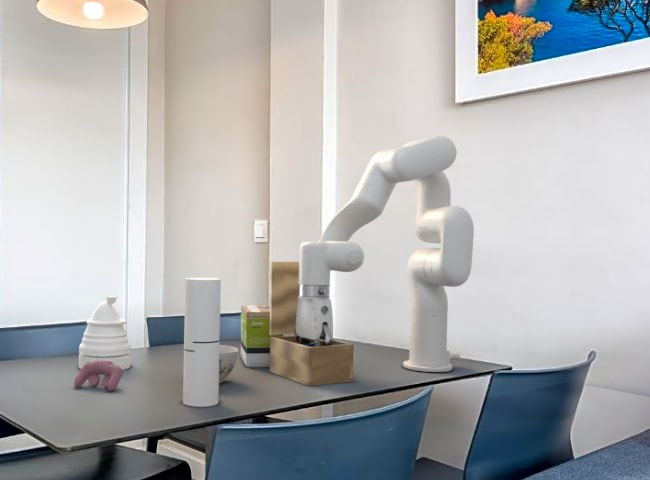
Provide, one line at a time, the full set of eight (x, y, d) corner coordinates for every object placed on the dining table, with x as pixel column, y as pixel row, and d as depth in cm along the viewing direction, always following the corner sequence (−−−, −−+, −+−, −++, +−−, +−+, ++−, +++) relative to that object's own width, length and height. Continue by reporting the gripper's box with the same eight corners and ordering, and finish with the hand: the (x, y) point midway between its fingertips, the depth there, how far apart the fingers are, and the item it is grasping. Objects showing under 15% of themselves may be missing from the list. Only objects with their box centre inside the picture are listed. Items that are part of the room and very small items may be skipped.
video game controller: (120, 395, 147) (127, 364, 150) (110, 390, 143) (118, 358, 146) (81, 391, 150) (89, 361, 153) (70, 386, 146) (79, 355, 149)
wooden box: (353, 381, 160) (353, 344, 159) (308, 386, 154) (309, 347, 153) (311, 368, 175) (312, 334, 175) (269, 371, 169) (270, 336, 169)
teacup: (247, 384, 153) (248, 349, 153) (197, 390, 147) (198, 353, 147) (217, 372, 167) (218, 340, 167) (170, 377, 161) (171, 343, 160)
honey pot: (140, 365, 174) (141, 296, 174) (105, 373, 163) (106, 299, 163) (104, 360, 181) (105, 293, 181) (67, 367, 170) (68, 295, 170)
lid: (314, 261, 175) (303, 261, 179) (272, 261, 169) (262, 261, 173) (313, 332, 175) (302, 330, 179) (271, 335, 169) (261, 332, 173)
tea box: (239, 357, 189) (240, 304, 189) (274, 357, 190) (276, 305, 190) (245, 367, 174) (246, 310, 174) (283, 367, 175) (284, 310, 175)
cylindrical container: (213, 407, 132) (215, 280, 132) (178, 405, 134) (180, 279, 133) (222, 399, 139) (224, 278, 139) (188, 397, 141) (191, 277, 140)
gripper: (348, 295, 157) (346, 371, 158) (307, 289, 173) (305, 359, 173) (321, 295, 154) (319, 374, 154) (282, 289, 169) (280, 361, 169)
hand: (312, 365), depth 163 cm, fingers closed on cup, 6 cm apart
